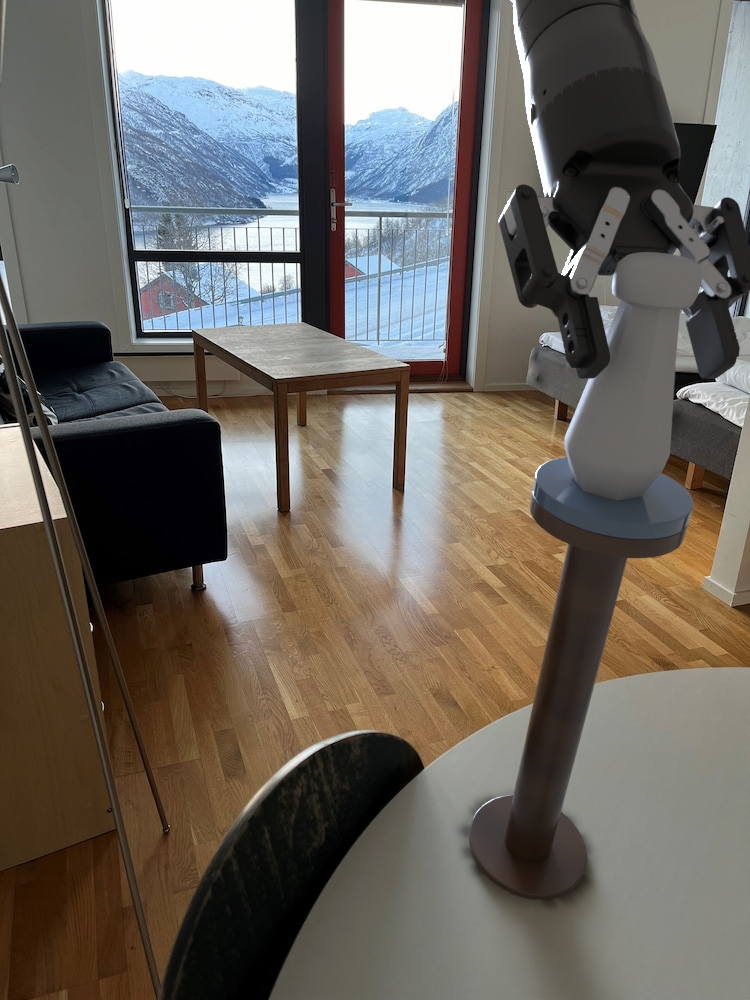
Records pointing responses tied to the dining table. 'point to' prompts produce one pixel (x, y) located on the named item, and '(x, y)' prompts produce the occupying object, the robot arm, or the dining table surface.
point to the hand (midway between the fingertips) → (658, 371)
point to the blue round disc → (613, 505)
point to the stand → (558, 719)
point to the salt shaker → (633, 380)
